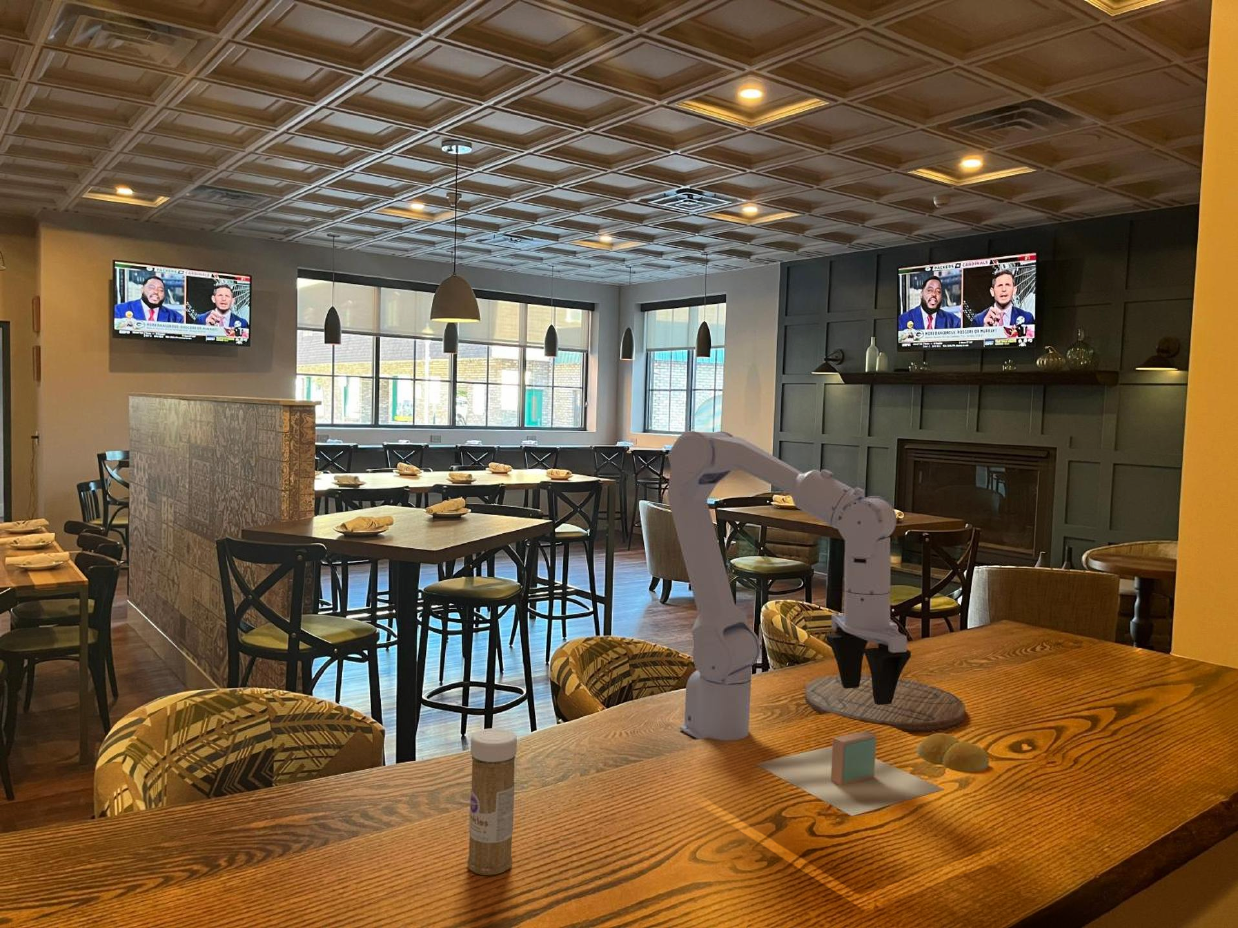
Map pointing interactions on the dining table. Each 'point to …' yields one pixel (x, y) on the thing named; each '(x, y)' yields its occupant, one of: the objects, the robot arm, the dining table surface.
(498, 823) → the sprinkles bottle
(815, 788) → the board
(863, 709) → the trivet
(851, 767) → the block
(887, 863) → the dining table surface
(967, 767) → the bread roll
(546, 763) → the dining table surface
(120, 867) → the dining table surface
